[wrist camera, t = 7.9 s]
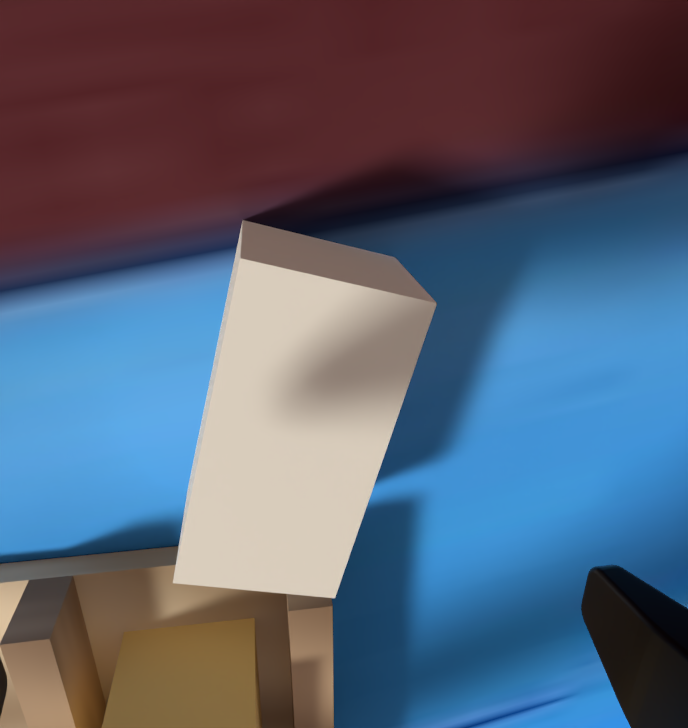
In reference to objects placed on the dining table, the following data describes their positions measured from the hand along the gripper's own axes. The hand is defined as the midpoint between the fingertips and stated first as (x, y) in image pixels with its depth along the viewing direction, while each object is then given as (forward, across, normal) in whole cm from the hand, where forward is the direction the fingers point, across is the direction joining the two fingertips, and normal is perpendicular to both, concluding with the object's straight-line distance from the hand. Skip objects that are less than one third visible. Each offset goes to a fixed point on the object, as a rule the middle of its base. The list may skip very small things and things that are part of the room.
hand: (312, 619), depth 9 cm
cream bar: (+8, 0, 0) cm, 8 cm away
